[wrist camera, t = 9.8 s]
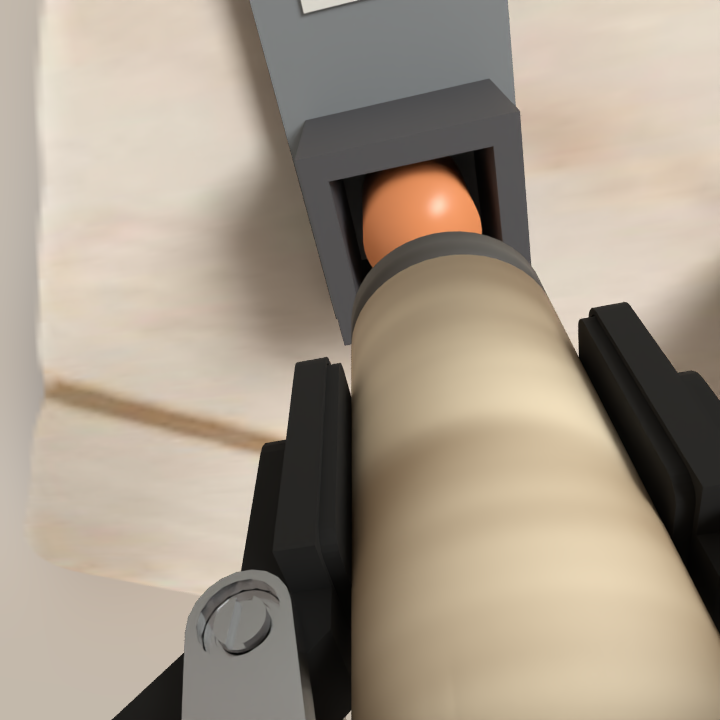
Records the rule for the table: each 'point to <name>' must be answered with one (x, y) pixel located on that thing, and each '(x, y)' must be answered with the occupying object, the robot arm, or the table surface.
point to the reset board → (393, 112)
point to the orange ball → (414, 205)
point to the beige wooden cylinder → (503, 513)
